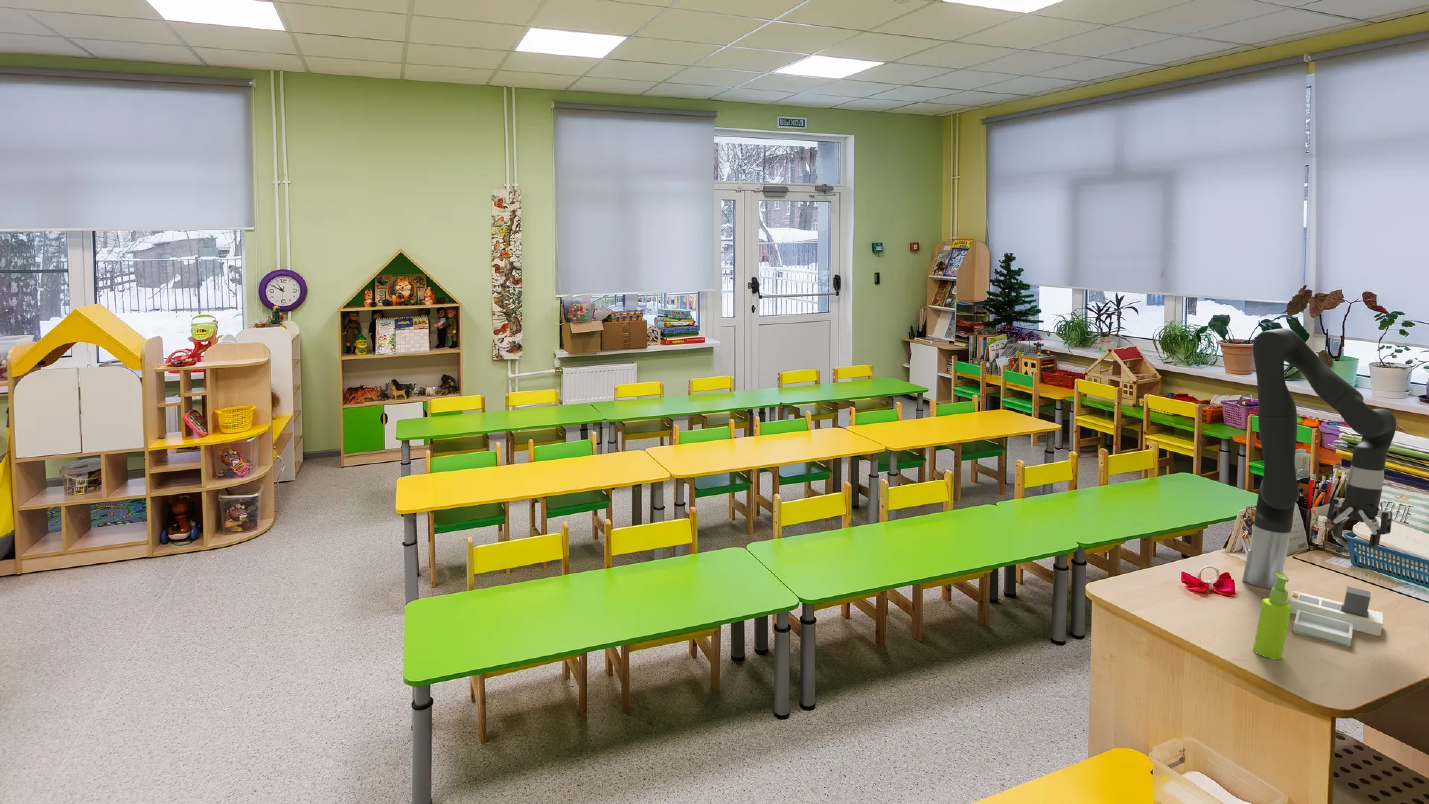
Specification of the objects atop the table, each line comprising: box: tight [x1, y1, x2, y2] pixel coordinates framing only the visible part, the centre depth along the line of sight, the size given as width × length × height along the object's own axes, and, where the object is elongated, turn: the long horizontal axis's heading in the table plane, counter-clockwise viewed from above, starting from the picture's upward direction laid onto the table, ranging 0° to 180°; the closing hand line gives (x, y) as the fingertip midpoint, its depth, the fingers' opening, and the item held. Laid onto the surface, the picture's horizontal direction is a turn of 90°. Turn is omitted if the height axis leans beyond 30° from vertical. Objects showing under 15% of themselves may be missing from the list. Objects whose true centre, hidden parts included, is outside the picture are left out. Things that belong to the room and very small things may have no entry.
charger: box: [1342, 586, 1371, 618], centre depth 226 cm, size 5×7×7 cm
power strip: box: [1289, 590, 1384, 637], centre depth 228 cm, size 20×9×4 cm, turn 52°
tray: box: [1292, 610, 1354, 649], centre depth 219 cm, size 12×11×2 cm
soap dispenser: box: [1252, 572, 1292, 660], centre depth 205 cm, size 6×7×20 cm
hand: (1354, 541), depth 227 cm, fingers open, 8 cm apart
